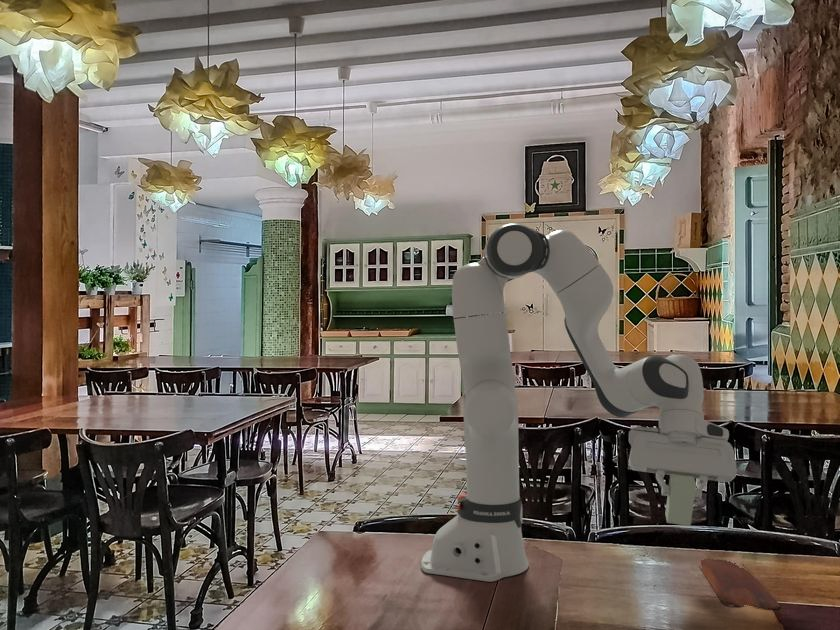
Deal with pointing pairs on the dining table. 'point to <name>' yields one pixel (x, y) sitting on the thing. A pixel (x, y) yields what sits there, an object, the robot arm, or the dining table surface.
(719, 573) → the wooden tablet
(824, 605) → the dining table surface
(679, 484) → the sage card box
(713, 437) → the robot arm
